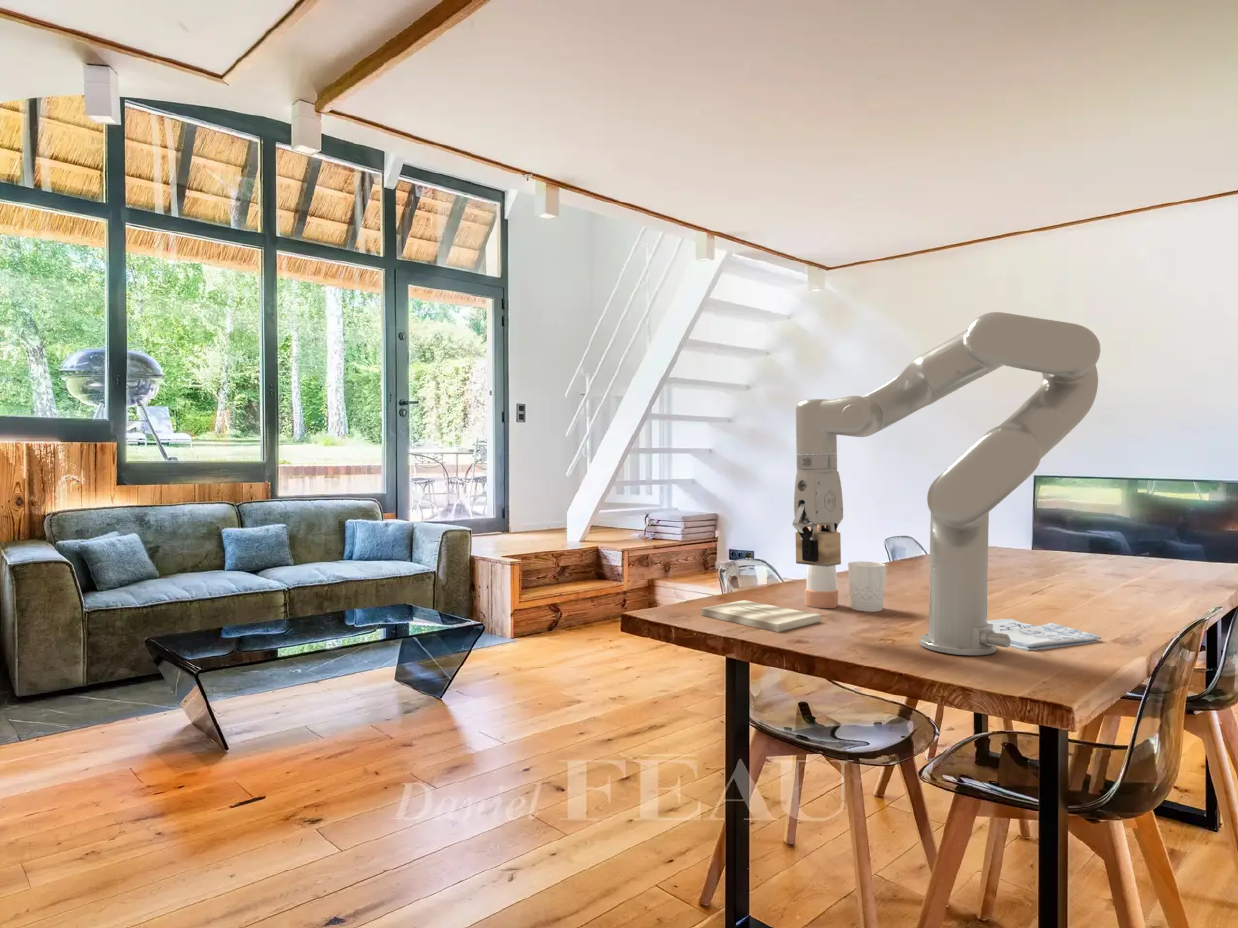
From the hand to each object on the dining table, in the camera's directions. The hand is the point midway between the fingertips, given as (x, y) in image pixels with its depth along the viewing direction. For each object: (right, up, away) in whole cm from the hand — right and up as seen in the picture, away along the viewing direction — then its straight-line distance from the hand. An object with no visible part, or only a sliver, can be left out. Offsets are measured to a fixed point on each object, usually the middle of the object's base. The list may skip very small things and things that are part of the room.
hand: (818, 558), depth 150 cm
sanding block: (0, -1, 0) cm, 1 cm away
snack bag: (+38, -15, 0) cm, 41 cm away
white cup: (+17, -14, +23) cm, 32 cm away
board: (-9, -14, +13) cm, 21 cm away
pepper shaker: (+8, -14, +28) cm, 32 cm away
